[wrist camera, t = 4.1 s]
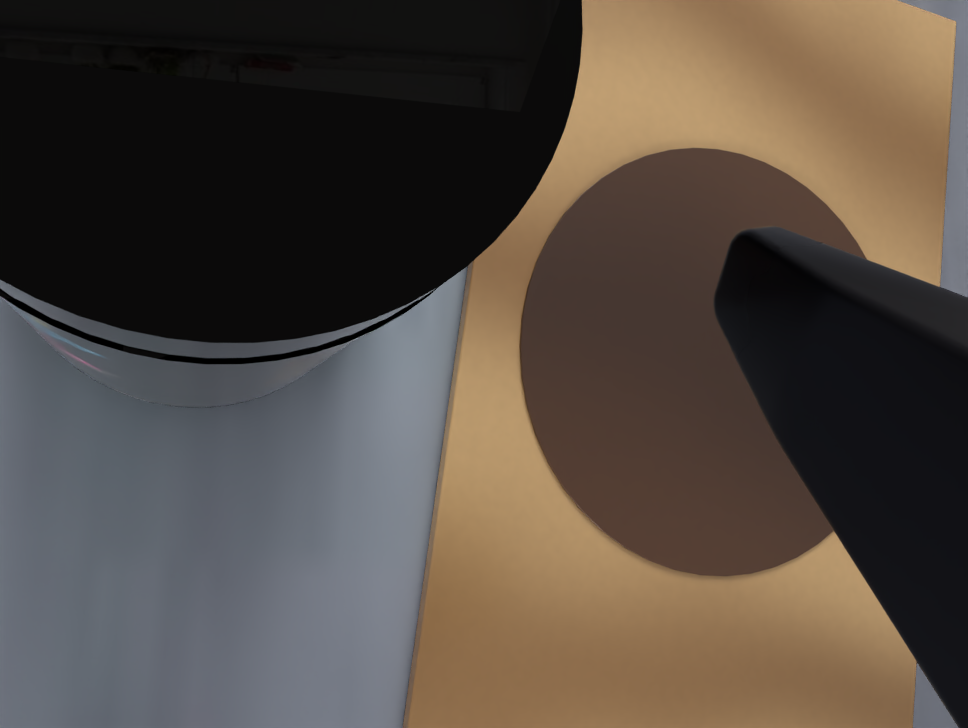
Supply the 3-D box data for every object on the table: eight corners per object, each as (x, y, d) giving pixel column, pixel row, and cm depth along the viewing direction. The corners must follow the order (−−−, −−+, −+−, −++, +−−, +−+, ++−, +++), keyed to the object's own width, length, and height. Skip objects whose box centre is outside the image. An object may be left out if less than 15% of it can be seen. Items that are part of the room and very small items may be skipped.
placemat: (893, 828, 21) (909, 836, 21) (389, 812, 18) (395, 822, 17) (945, 27, 24) (959, 19, 24) (522, -122, 21) (529, -135, 20)
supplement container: (121, 0, 18) (58, -568, 8) (425, 181, 19) (684, -108, 10) (-75, 304, 16) (-452, 59, 6) (274, 473, 18) (399, 485, 8)
